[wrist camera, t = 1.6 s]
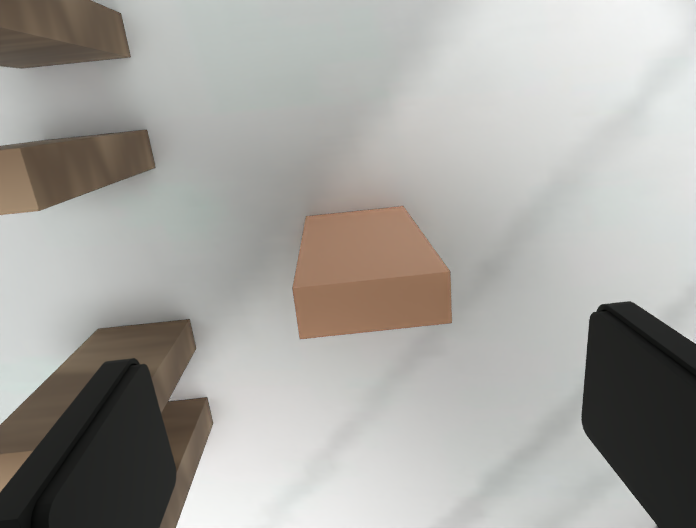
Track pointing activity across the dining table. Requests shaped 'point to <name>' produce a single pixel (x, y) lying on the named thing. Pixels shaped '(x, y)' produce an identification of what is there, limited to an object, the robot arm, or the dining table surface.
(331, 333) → the domino
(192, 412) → the domino
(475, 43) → the dining table surface
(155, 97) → the dining table surface
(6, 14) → the domino
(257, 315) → the dining table surface
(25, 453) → the domino
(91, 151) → the domino
